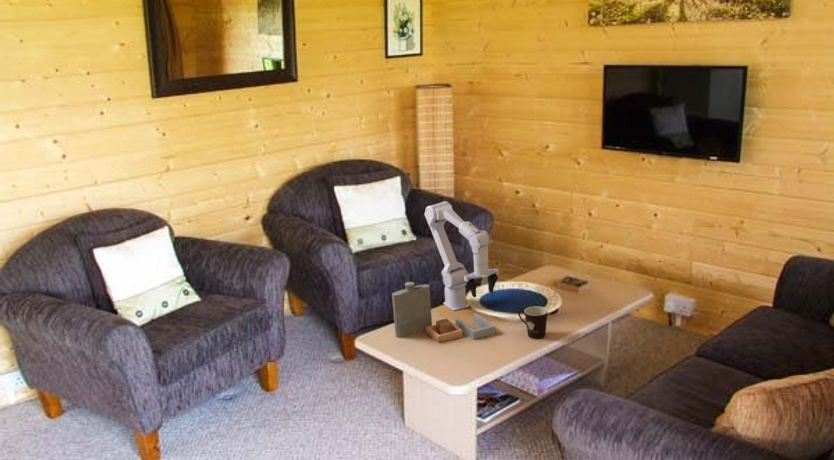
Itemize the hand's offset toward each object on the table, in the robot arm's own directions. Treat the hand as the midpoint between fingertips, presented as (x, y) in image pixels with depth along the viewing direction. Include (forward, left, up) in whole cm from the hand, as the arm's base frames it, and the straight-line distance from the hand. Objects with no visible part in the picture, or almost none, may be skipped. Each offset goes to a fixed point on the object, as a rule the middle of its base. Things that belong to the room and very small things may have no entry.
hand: (482, 294), depth 305 cm
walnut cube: (+7, -21, -9) cm, 24 cm away
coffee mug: (+25, +8, -10) cm, 28 cm away
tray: (+7, -21, -9) cm, 24 cm away
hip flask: (-3, -30, -10) cm, 31 cm away
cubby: (+9, -9, -9) cm, 16 cm away
